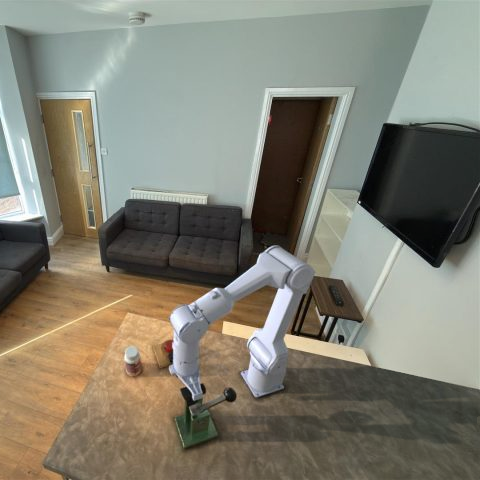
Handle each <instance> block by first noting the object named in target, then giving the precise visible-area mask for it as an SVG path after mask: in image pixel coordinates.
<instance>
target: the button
mask: <svg viewBox="0 0 480 480" xmlns="http://www.w3.org/2000/svg"><path fill="white" fill-rule="evenodd" d="M169 340H170V341H167V342H166V344H165V349H166V351H167V352H168V353H171V352H173V348H172V342H174V341H172V340H173V339H169Z"/></svg>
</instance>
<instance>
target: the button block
mask: <svg viewBox="0 0 480 480" xmlns="http://www.w3.org/2000/svg"><path fill="white" fill-rule="evenodd" d="M170 340H172V341H174V339H167V340H164V342H162V343H159V344H155V345H153V346H152V347H153V351H154V355H155V358H156V361H157V364H158V366H159V369H163V368H166V367H169V366H170V365H172V364H171V363H170V361H169V358H168V354H169V353H168V352H167V351H166V349H165V344H166V342H167V341H170Z"/></svg>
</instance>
